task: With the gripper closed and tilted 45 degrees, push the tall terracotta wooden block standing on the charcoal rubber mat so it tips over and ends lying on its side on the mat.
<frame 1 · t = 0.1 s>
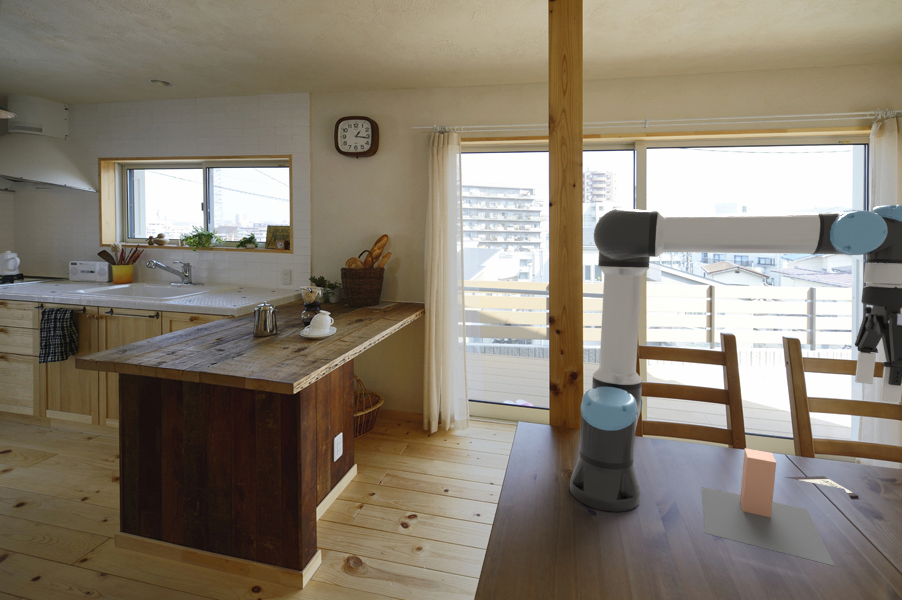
hand: (875, 391, 92), 28 cm above the table, tool pointing down, fingers open, 13 cm apart
chocolate bar: (804, 491, 108), on the table
block: (754, 508, 98), point 1 cm above the table, touching mat
mat: (758, 523, 94), on the table
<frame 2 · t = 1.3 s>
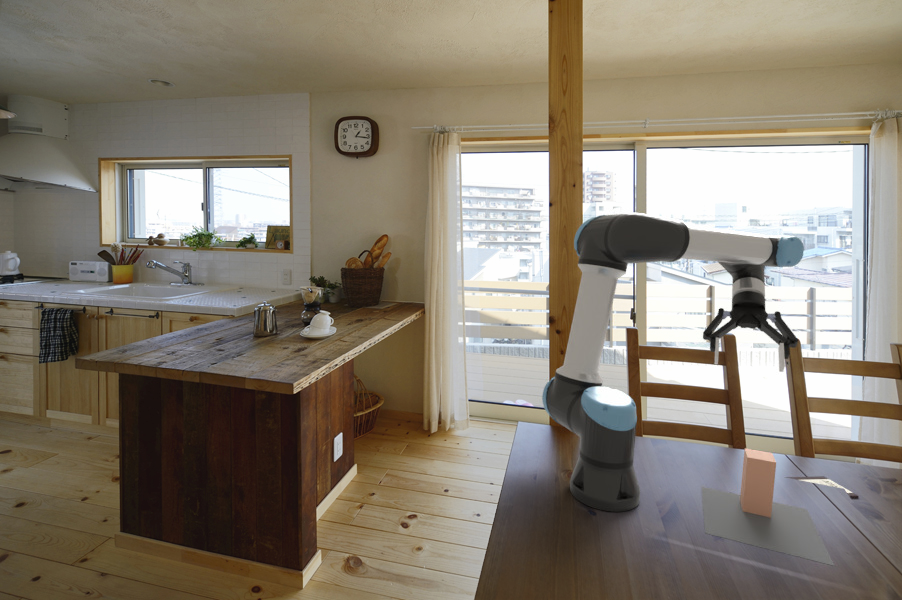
hand: (748, 365, 113), 28 cm above the table, tool tilted 45°, fingers open, 13 cm apart
nothing on the table moved.
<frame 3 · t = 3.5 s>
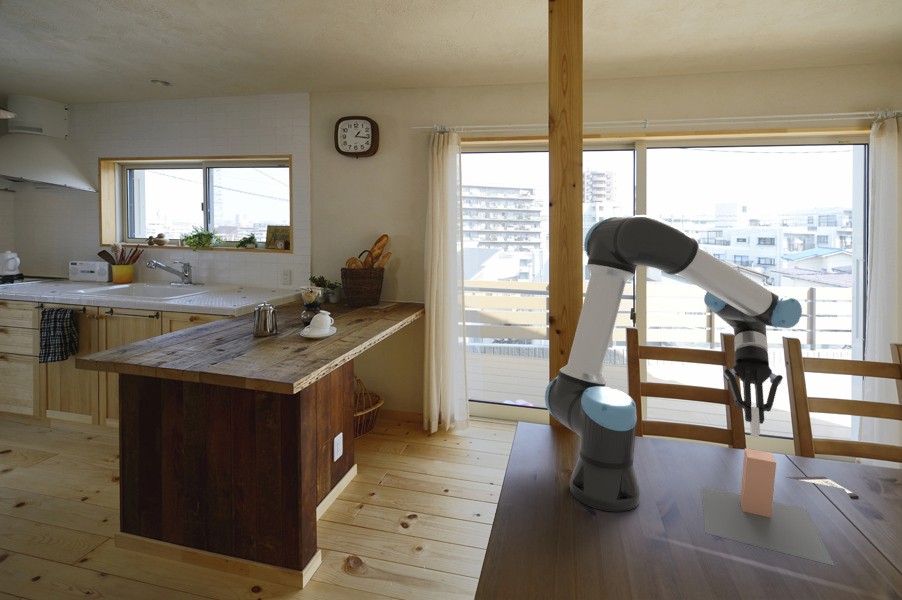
hand: (755, 434, 110), 12 cm above the table, tool tilted 45°, fingers closed
nothing on the table moved.
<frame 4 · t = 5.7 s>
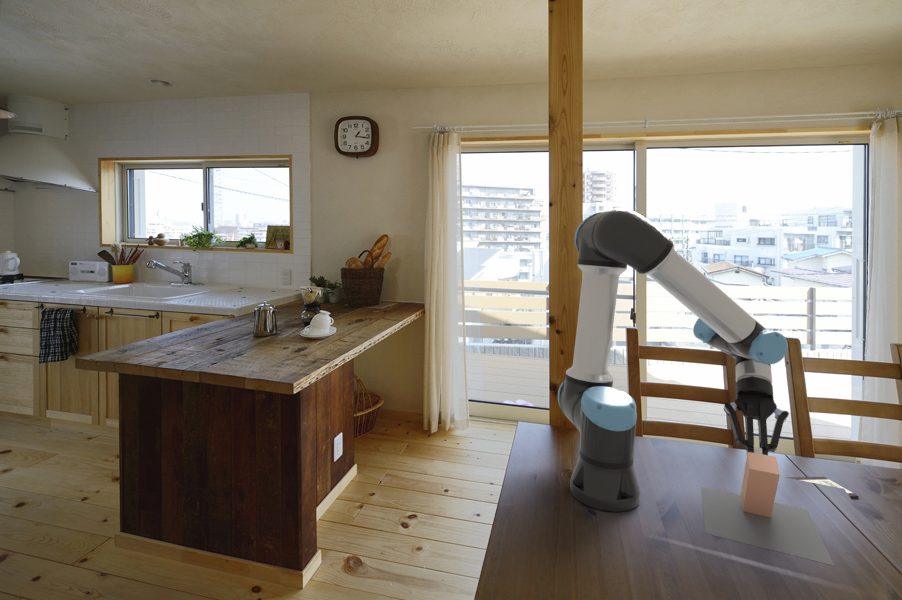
hand: (758, 478, 99), 7 cm above the table, tool tilted 45°, fingers closed
block: (755, 505, 98), point 1 cm above the table, tilted 20°, touching mat
everything else where it was.
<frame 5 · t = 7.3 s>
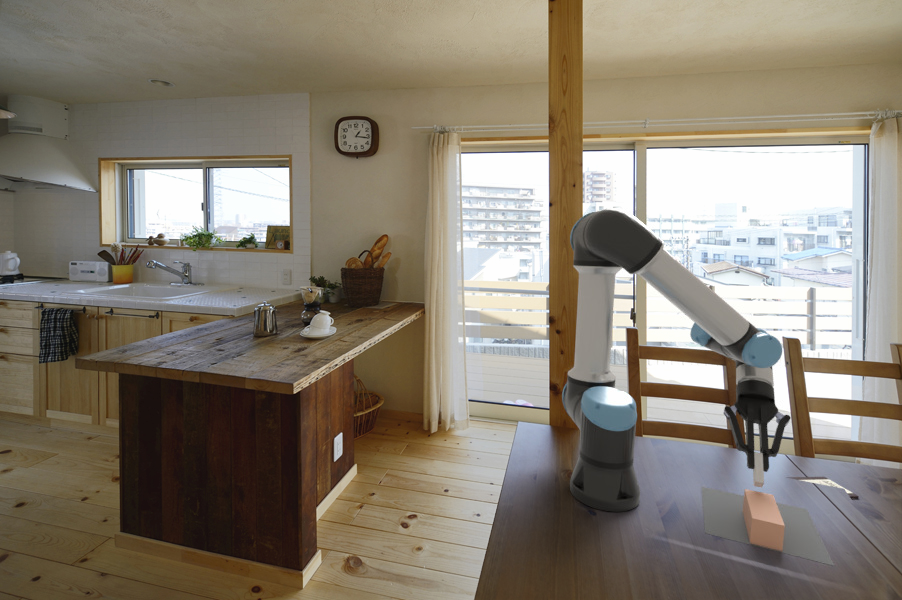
hand: (758, 484, 96), 7 cm above the table, tool tilted 45°, fingers closed
block: (757, 503, 96), point 3 cm above the table, tilted 90°, touching mat
everything else where it was.
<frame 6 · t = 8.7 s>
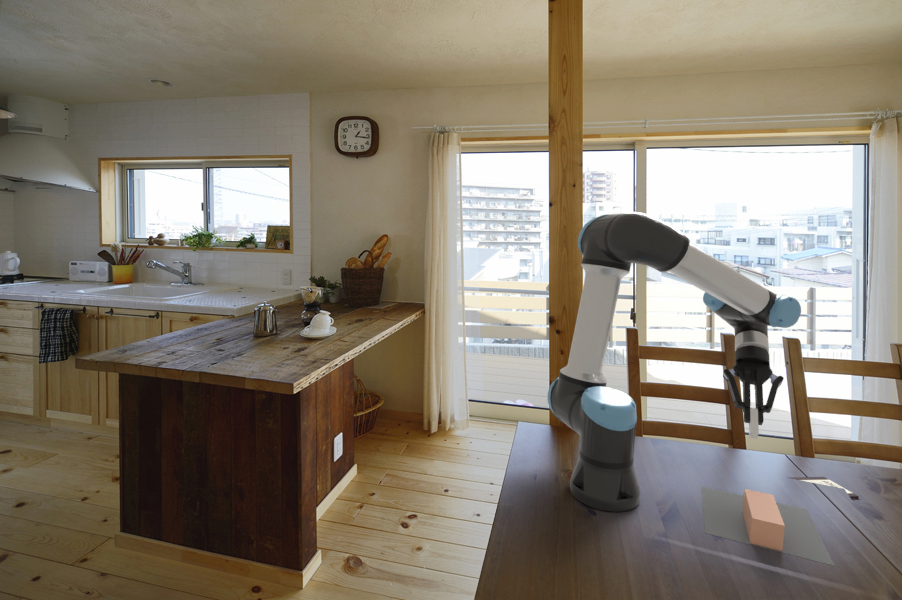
hand: (753, 435, 107), 13 cm above the table, tool tilted 45°, fingers closed
nothing on the table moved.
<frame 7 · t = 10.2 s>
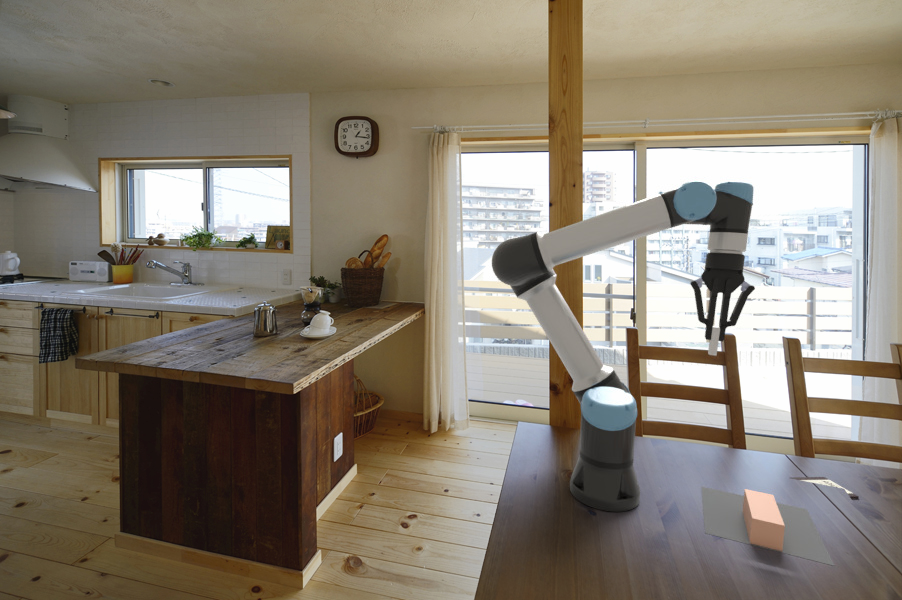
hand: (712, 354, 106), 32 cm above the table, tool pointing down, fingers closed
nothing on the table moved.
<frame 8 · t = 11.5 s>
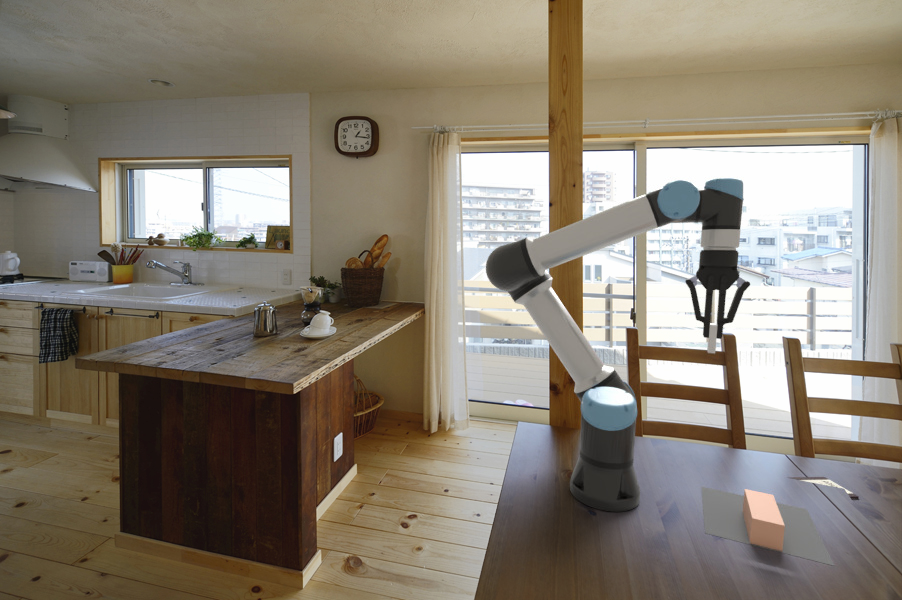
hand: (711, 351, 106), 32 cm above the table, tool pointing down, fingers closed
nothing on the table moved.
at the end: block tilted 90°; block inside the target area on the mat (2.5 cm from its centre), point 3.1 cm above the mat's base; block touching mat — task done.
